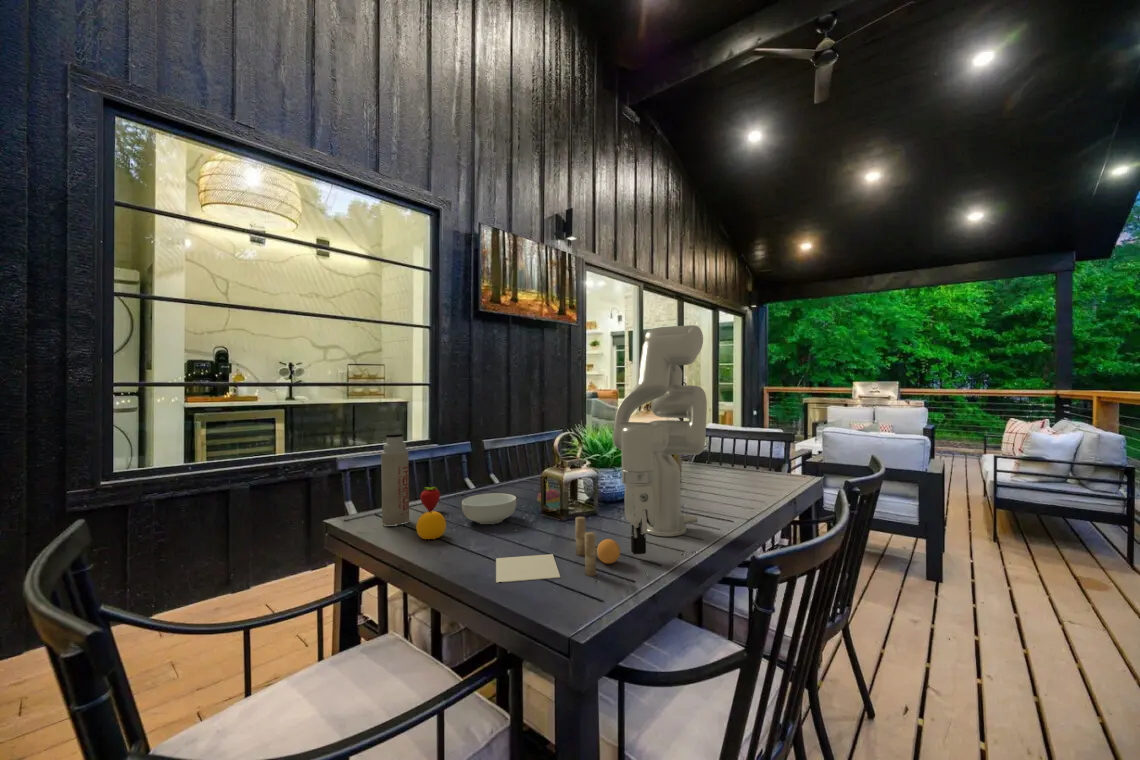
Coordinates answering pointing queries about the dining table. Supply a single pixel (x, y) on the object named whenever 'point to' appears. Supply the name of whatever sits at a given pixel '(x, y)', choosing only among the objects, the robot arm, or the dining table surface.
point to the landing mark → (526, 568)
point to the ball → (608, 551)
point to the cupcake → (551, 497)
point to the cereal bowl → (489, 507)
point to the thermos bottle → (395, 481)
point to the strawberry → (430, 497)
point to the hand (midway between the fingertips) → (638, 552)
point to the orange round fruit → (431, 525)
